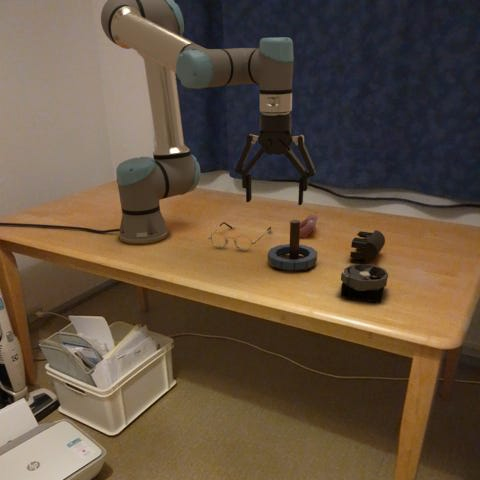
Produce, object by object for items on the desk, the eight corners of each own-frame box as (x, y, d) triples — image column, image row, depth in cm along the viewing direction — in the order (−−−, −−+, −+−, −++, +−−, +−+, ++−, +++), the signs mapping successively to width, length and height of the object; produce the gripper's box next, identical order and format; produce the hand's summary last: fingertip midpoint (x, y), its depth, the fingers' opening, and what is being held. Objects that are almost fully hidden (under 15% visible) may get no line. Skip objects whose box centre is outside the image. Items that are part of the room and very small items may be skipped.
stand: (276, 268, 128) (277, 225, 122) (282, 257, 135) (282, 215, 129) (306, 271, 126) (308, 227, 120) (310, 259, 133) (312, 217, 127)
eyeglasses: (204, 248, 143) (203, 232, 140) (227, 228, 158) (227, 213, 155) (255, 253, 138) (255, 237, 135) (274, 232, 153) (274, 217, 150)
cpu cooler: (390, 265, 114) (385, 283, 106) (387, 287, 117) (382, 306, 109) (346, 260, 117) (338, 277, 109) (344, 281, 120) (336, 299, 112)
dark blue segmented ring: (263, 267, 127) (263, 259, 126) (274, 249, 138) (274, 242, 136) (312, 272, 123) (313, 264, 122) (319, 253, 134) (320, 246, 133)
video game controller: (308, 243, 148) (319, 224, 144) (295, 236, 148) (306, 217, 144) (310, 232, 156) (321, 214, 153) (298, 226, 156) (308, 207, 152)
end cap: (375, 267, 128) (378, 243, 124) (349, 263, 130) (351, 239, 127) (383, 254, 135) (386, 231, 132) (358, 250, 138) (360, 227, 135)
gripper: (220, 114, 113) (223, 203, 124) (327, 115, 107) (321, 209, 118) (229, 110, 119) (232, 195, 130) (330, 111, 113) (324, 200, 124)
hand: (274, 202), depth 124 cm, fingers open, 13 cm apart
